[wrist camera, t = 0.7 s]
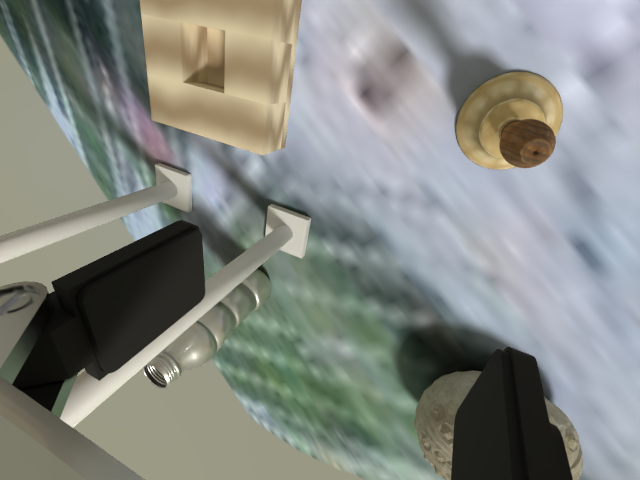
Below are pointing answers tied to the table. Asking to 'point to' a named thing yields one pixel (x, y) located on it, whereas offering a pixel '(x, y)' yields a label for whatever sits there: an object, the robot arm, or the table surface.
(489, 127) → the hand bell
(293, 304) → the table surface
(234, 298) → the plastic bottle
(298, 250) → the two-post wooden stand
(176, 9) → the socket block
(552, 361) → the table surface
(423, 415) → the grey rounded lump
